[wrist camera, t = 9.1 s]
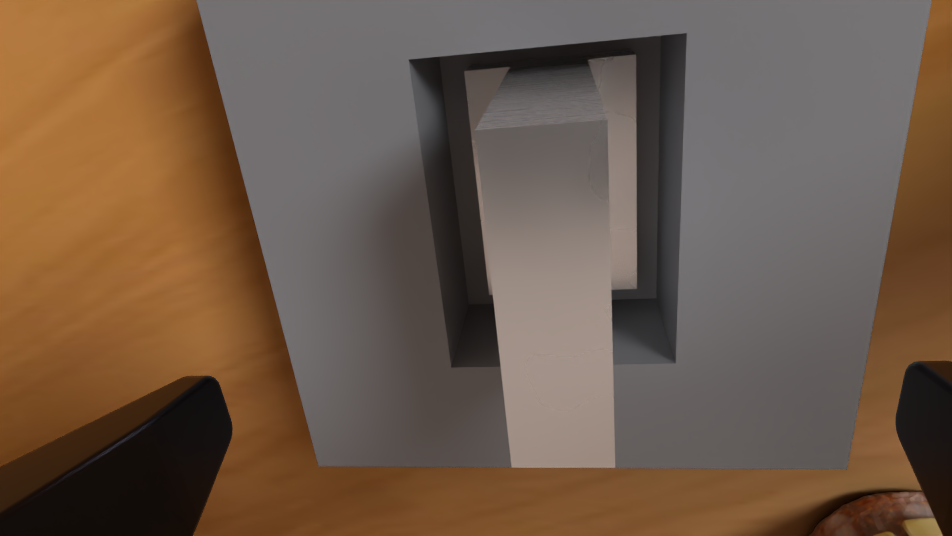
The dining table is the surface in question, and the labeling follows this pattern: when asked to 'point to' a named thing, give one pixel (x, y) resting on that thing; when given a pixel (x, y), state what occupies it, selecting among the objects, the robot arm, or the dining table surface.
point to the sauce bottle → (882, 517)
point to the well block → (658, 216)
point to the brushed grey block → (557, 242)
